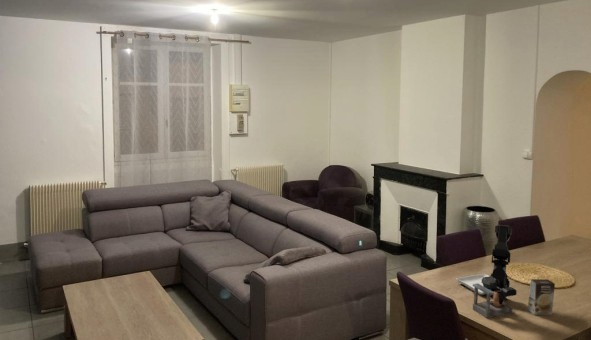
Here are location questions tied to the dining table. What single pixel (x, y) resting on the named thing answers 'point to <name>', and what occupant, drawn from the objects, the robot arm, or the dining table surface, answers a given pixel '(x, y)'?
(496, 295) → the peg
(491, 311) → the socket block
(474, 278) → the salad plate
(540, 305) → the coffee box
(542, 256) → the dining table surface
